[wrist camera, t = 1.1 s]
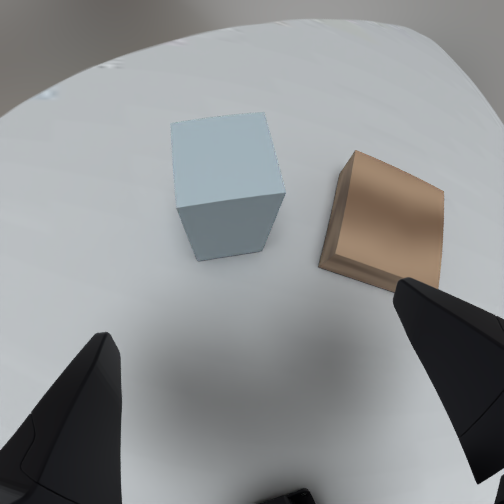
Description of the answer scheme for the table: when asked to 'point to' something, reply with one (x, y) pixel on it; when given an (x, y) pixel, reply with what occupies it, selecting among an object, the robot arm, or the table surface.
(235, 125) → the slate block
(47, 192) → the table surface
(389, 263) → the tan flat square block
